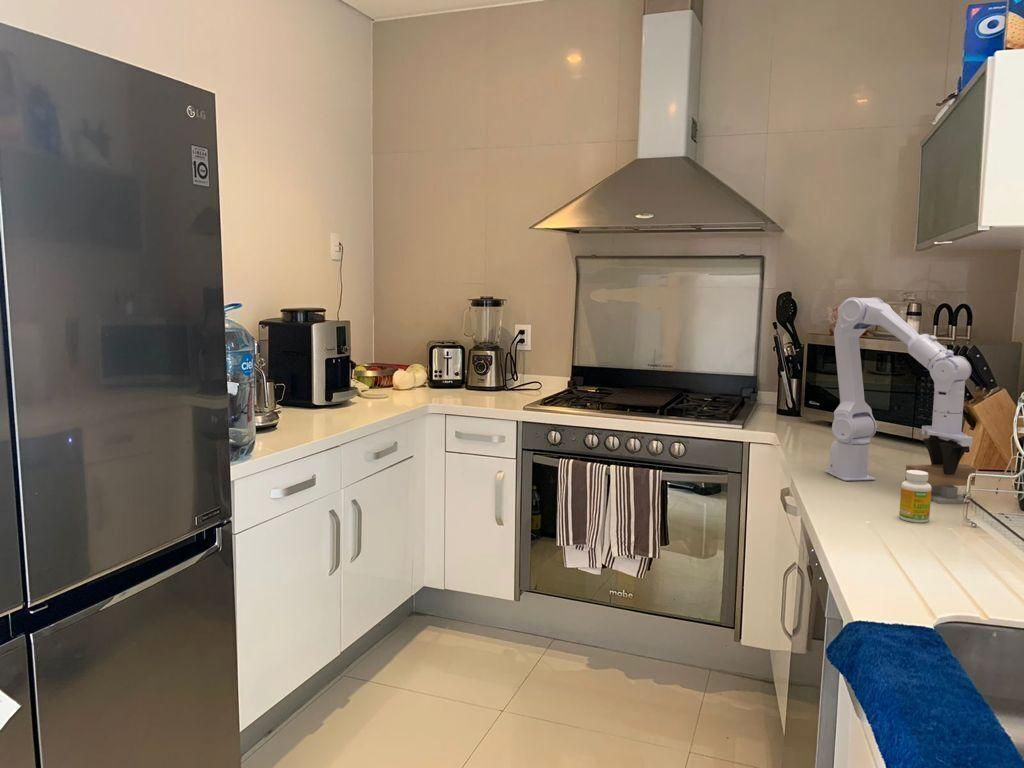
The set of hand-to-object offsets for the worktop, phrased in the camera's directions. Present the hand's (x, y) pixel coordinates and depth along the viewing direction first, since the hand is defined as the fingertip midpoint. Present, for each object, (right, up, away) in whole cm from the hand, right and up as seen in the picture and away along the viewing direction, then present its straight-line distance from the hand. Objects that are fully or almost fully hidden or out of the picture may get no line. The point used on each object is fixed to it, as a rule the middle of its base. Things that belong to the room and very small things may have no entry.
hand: (943, 472), depth 172 cm
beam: (-1, -3, 0) cm, 3 cm away
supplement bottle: (-15, -8, -16) cm, 23 cm away
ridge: (0, -6, +1) cm, 6 cm away
